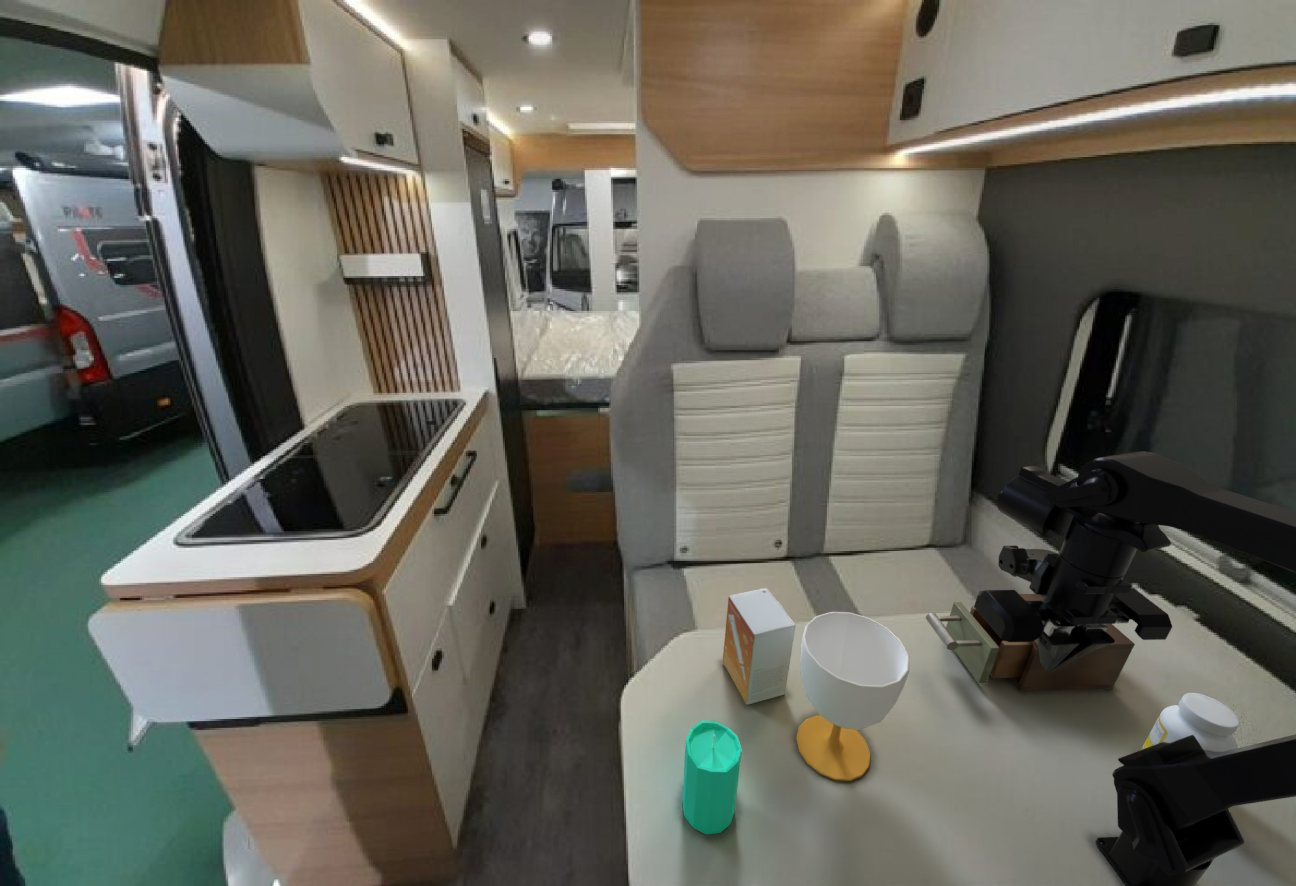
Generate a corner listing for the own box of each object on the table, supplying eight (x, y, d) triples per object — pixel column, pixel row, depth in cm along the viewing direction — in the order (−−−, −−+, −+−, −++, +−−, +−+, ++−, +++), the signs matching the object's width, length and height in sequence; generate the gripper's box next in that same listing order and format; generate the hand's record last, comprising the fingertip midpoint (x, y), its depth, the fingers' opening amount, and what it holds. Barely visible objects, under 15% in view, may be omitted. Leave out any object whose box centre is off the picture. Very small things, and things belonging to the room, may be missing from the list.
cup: (785, 779, 64) (803, 675, 58) (786, 699, 75) (801, 603, 68) (888, 803, 62) (921, 698, 55) (874, 717, 72) (900, 620, 65)
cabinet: (1020, 690, 77) (1039, 645, 73) (976, 636, 86) (991, 594, 83) (1112, 689, 77) (1135, 643, 74) (1058, 635, 87) (1076, 592, 83)
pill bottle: (1221, 809, 62) (1269, 740, 57) (1156, 797, 63) (1198, 729, 58) (1181, 757, 68) (1222, 691, 63) (1123, 747, 69) (1159, 681, 64)
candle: (673, 791, 63) (677, 720, 58) (719, 773, 65) (726, 703, 60) (695, 843, 58) (701, 769, 53) (744, 822, 60) (753, 750, 55)
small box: (721, 662, 81) (727, 594, 76) (759, 653, 83) (767, 586, 77) (745, 706, 74) (754, 634, 68) (786, 695, 76) (797, 624, 70)
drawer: (944, 684, 76) (956, 648, 74) (912, 636, 85) (921, 602, 82) (1063, 682, 77) (1079, 646, 74) (1019, 634, 86) (1032, 600, 83)
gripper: (1113, 520, 65) (1071, 619, 72) (964, 521, 65) (935, 621, 71) (1203, 578, 55) (1144, 687, 62) (1027, 581, 54) (986, 691, 61)
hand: (1046, 668), depth 64 cm, fingers closed
